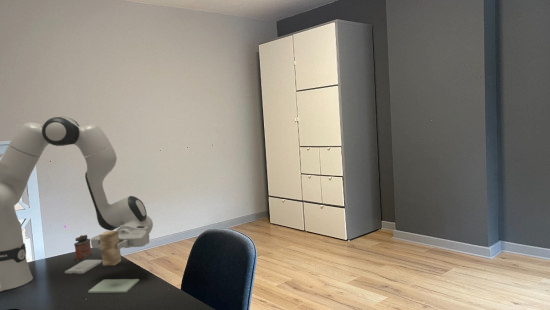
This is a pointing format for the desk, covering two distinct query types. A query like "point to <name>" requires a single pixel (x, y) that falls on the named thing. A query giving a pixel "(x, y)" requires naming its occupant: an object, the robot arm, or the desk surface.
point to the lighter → (82, 248)
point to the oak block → (110, 248)
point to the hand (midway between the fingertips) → (109, 247)
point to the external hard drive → (83, 266)
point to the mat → (113, 285)
